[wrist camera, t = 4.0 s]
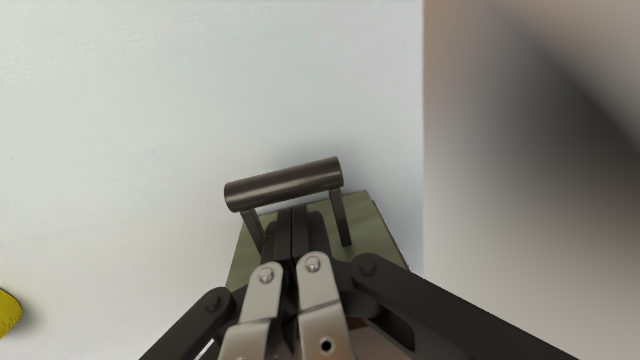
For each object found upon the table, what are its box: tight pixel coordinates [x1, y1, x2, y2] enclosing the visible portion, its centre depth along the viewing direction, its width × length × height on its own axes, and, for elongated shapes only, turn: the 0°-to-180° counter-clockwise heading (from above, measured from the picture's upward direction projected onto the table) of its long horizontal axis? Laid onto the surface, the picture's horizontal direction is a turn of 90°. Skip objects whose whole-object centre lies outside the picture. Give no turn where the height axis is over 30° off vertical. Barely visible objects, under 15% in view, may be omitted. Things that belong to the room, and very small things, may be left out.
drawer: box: [224, 156, 407, 312], centre depth 17 cm, size 17×9×8 cm, turn 13°
